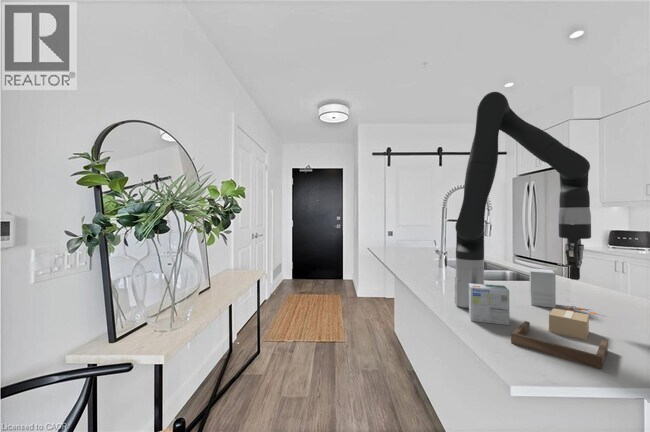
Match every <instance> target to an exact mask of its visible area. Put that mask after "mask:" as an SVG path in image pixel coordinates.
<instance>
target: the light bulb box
mask: <svg viewBox="0 0 650 432" xmlns="http://www.w3.org/2000/svg"><path fill="white" fill-rule="evenodd" d="M468 317H469V318H470V319H469V320H470V321H471V322H475V323H476V322H477V323H485V324H486V323H487V324H494V325H495V324H496V325H504V326H510V325H511V324H510V320H511V319H510V289H509V288H507V287H506V286H505V284H503V285H501V284H486V283H484V284H472V283H469V309H468Z"/></svg>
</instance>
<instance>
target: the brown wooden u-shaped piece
mask: <svg viewBox="0 0 650 432" xmlns="http://www.w3.org/2000/svg"><path fill="white" fill-rule="evenodd" d="M530 326H531V325H530V321H527V320H525V321H523V323H522V324H520V325H519V326H518V327H517V328H516V329H514V330H513V331H512V332H511V333H510V343H511V344H513V345H517V346H519V345H520V347H523V346H524V348H526V347H528V348H527V349H530V348H531V349H530V350H533V349H534V351H537V352H540V353H543V354H548V355H551V356H555V357H558V358H561V359H564V360H569V361H571V362H575V363H579V364H583V365H586V366H588V367H593V368H594V369H595V368H596V369H599V370H603V367H604V364H605V361H606V358H607V354H608V349H609V345H608V343H609V342H608V341H609V340H608V339H603V338H602V339H601V341H600V344H599V346H598V349H597V352H596V354H595V353H592V352H588V351H585V350H580V349H576V348H572V347H570V346H566V345H561V344H557V343H554V342H551V341H547V340H543V339H539V338H534V337H532V336H527V334H528V333H529V332H530V331H531V329H530V328H531V327H530ZM525 334H526V335H525ZM524 335H525V336H524ZM605 357H606V358H605Z"/></svg>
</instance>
